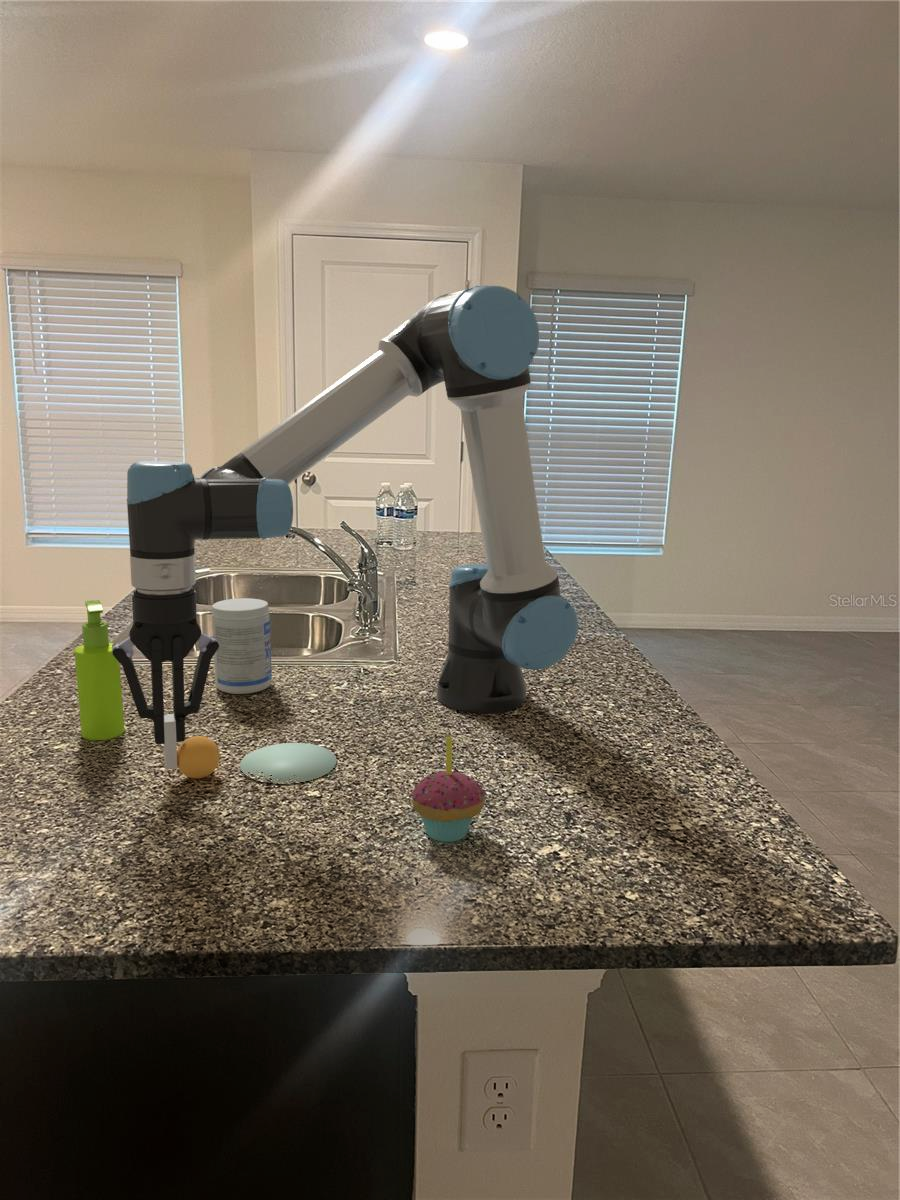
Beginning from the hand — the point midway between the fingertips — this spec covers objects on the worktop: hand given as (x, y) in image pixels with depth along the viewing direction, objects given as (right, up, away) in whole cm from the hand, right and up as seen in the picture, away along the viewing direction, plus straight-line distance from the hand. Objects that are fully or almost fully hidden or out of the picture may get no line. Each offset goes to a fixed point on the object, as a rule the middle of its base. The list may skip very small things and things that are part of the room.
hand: (170, 764), depth 108 cm
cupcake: (+36, -6, -11) cm, 38 cm away
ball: (+3, +1, +1) cm, 3 cm away
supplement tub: (+1, +6, +36) cm, 36 cm away
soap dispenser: (-15, +2, +15) cm, 21 cm away
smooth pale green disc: (+14, -1, +6) cm, 16 cm away
